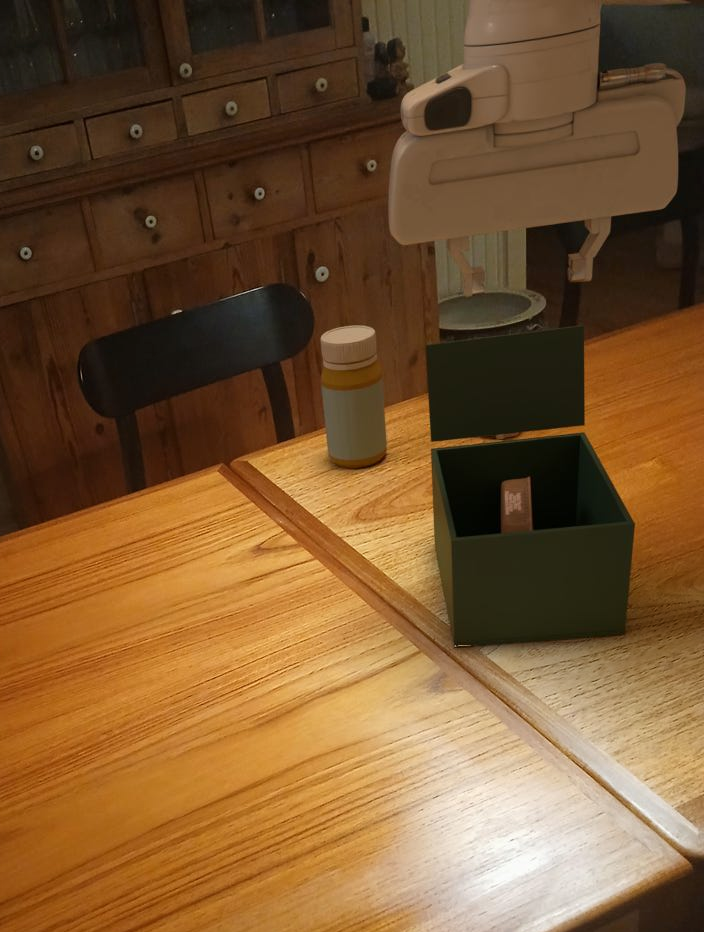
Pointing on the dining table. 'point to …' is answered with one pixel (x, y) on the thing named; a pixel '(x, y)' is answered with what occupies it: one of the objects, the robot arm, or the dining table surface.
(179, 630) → the dining table surface
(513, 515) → the tin
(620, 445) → the dining table surface
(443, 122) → the robot arm
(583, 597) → the green hinged-lid box
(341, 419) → the bottle
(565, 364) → the flap
